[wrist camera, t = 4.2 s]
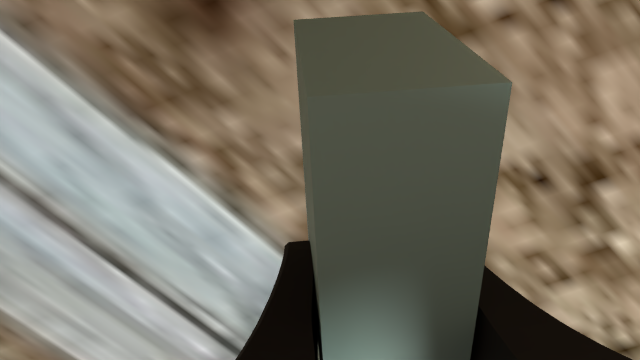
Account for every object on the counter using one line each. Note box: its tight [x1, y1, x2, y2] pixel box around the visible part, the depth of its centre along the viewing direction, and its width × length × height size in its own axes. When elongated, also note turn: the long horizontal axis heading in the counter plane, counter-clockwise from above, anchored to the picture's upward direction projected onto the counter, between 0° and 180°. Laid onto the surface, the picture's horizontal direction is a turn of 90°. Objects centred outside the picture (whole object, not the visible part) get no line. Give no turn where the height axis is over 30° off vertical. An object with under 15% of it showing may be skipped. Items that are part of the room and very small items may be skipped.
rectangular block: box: [294, 12, 512, 360], centre depth 12 cm, size 3×12×5 cm, turn 3°
